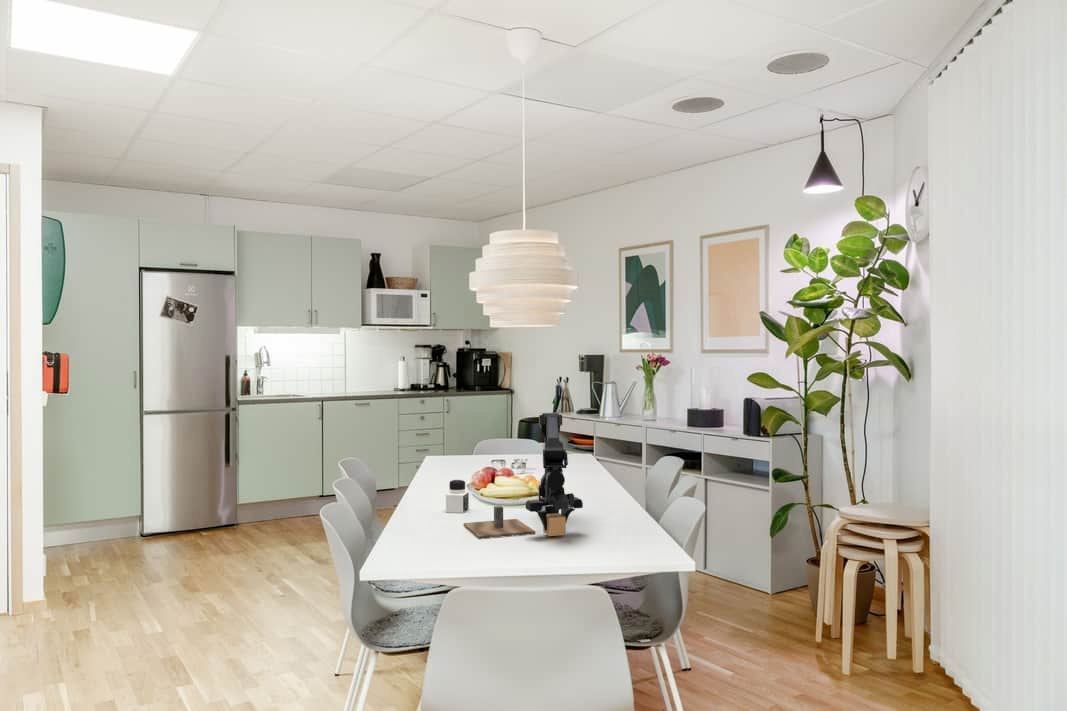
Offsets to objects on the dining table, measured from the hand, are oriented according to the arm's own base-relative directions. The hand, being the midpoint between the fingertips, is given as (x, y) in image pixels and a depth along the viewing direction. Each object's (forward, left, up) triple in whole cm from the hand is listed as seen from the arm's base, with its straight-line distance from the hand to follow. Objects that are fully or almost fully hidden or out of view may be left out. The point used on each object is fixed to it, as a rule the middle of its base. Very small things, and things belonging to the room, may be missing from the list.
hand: (554, 529), depth 261 cm
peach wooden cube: (0, 0, -1) cm, 1 cm away
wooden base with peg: (+15, -15, -2) cm, 21 cm away
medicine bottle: (+21, -50, -2) cm, 54 cm away
